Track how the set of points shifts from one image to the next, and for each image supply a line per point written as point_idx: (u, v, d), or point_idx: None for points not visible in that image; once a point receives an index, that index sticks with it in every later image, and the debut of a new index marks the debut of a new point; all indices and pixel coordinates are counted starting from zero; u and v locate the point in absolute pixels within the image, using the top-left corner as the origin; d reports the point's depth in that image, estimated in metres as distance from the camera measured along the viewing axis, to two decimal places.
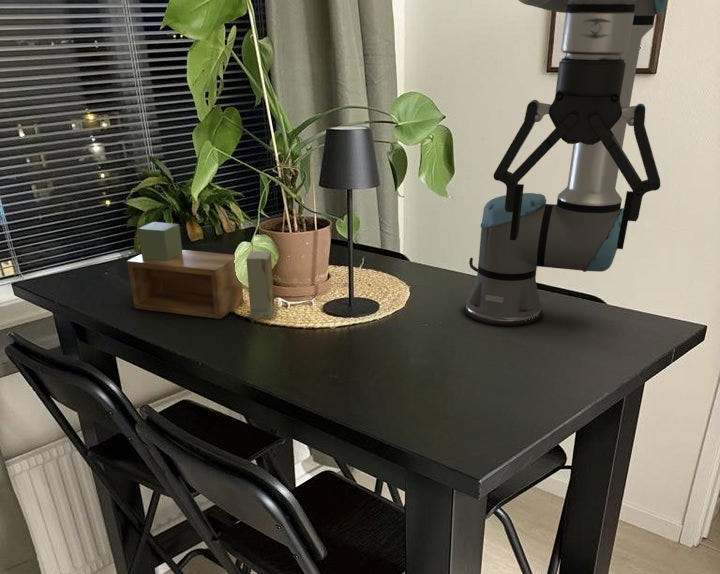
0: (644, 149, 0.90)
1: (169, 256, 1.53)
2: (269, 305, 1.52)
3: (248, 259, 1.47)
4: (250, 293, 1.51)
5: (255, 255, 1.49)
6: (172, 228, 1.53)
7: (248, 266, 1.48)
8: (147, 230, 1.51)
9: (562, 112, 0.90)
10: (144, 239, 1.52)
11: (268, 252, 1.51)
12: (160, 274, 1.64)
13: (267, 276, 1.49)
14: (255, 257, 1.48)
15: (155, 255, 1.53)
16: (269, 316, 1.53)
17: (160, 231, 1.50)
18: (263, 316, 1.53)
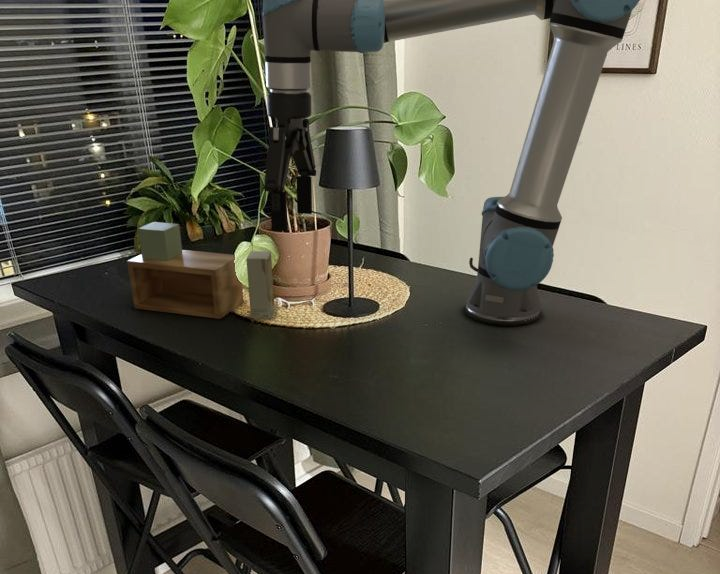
0: None
1: (169, 256, 1.53)
2: (269, 305, 1.52)
3: (248, 259, 1.47)
4: (250, 293, 1.51)
5: (255, 255, 1.49)
6: (172, 228, 1.53)
7: (248, 266, 1.48)
8: (147, 230, 1.51)
9: None
10: (144, 239, 1.52)
11: (268, 252, 1.51)
12: (160, 274, 1.64)
13: (267, 276, 1.49)
14: (255, 257, 1.48)
15: (155, 255, 1.53)
16: (269, 316, 1.53)
17: (160, 231, 1.50)
18: (263, 316, 1.53)
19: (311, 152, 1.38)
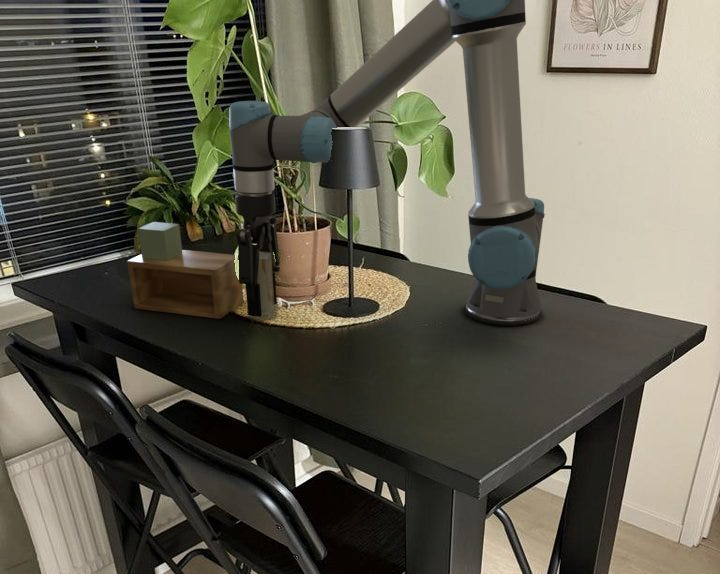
0: None
1: (169, 256, 1.53)
2: (269, 305, 1.52)
3: None
4: None
5: None
6: (172, 228, 1.53)
7: None
8: (147, 230, 1.51)
9: None
10: (144, 239, 1.52)
11: (268, 252, 1.51)
12: (160, 274, 1.64)
13: (267, 276, 1.49)
14: None
15: (155, 255, 1.53)
16: (269, 316, 1.53)
17: (160, 231, 1.50)
18: (263, 316, 1.53)
19: (276, 248, 1.54)
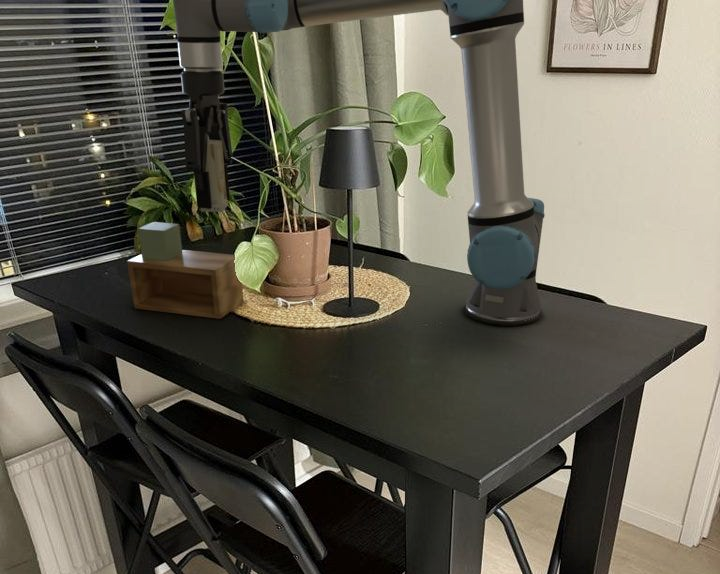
0: None
1: (169, 256, 1.53)
2: (220, 197, 1.43)
3: None
4: None
5: None
6: (172, 228, 1.53)
7: None
8: (147, 230, 1.51)
9: None
10: (144, 239, 1.52)
11: (218, 140, 1.43)
12: (160, 274, 1.64)
13: (216, 163, 1.40)
14: None
15: (155, 255, 1.53)
16: (220, 209, 1.45)
17: (160, 231, 1.50)
18: (214, 209, 1.44)
19: (228, 138, 1.46)
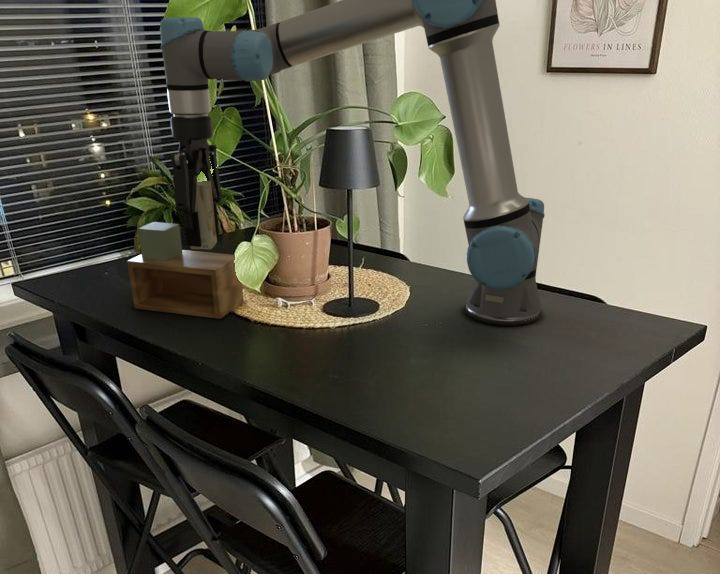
0: None
1: (169, 256, 1.53)
2: (209, 235, 1.48)
3: None
4: None
5: None
6: (172, 228, 1.53)
7: None
8: (147, 230, 1.51)
9: None
10: (144, 239, 1.52)
11: (207, 180, 1.48)
12: (160, 274, 1.64)
13: (205, 204, 1.45)
14: None
15: (155, 255, 1.53)
16: (209, 247, 1.49)
17: (160, 231, 1.50)
18: (203, 247, 1.49)
19: (217, 178, 1.50)
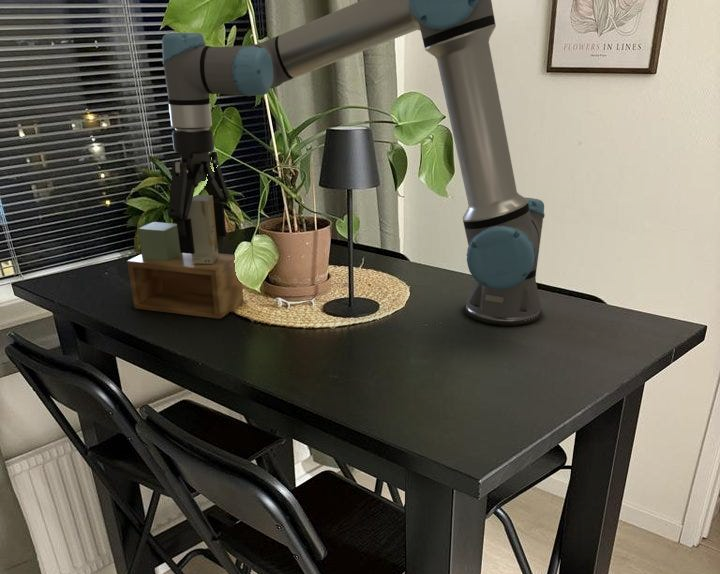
0: None
1: (169, 256, 1.53)
2: (210, 250, 1.50)
3: None
4: None
5: (195, 198, 1.47)
6: (172, 228, 1.53)
7: None
8: (147, 230, 1.51)
9: None
10: (144, 239, 1.52)
11: (209, 196, 1.49)
12: (160, 274, 1.64)
13: (207, 219, 1.47)
14: (195, 199, 1.46)
15: (155, 255, 1.53)
16: (211, 261, 1.51)
17: (160, 231, 1.50)
18: (205, 261, 1.51)
19: (222, 181, 1.52)
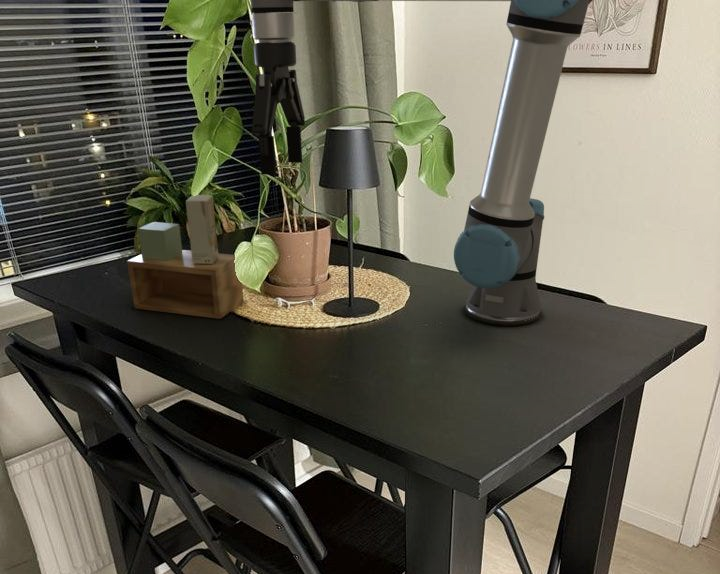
0: None
1: (169, 256, 1.53)
2: (210, 250, 1.50)
3: (187, 201, 1.45)
4: (191, 237, 1.48)
5: (195, 198, 1.47)
6: (172, 228, 1.53)
7: (188, 209, 1.46)
8: (147, 230, 1.51)
9: None
10: (144, 239, 1.52)
11: (209, 196, 1.49)
12: (160, 274, 1.64)
13: (207, 219, 1.47)
14: (195, 199, 1.46)
15: (155, 255, 1.53)
16: (211, 261, 1.51)
17: (160, 231, 1.50)
18: (205, 261, 1.51)
19: (299, 103, 1.47)
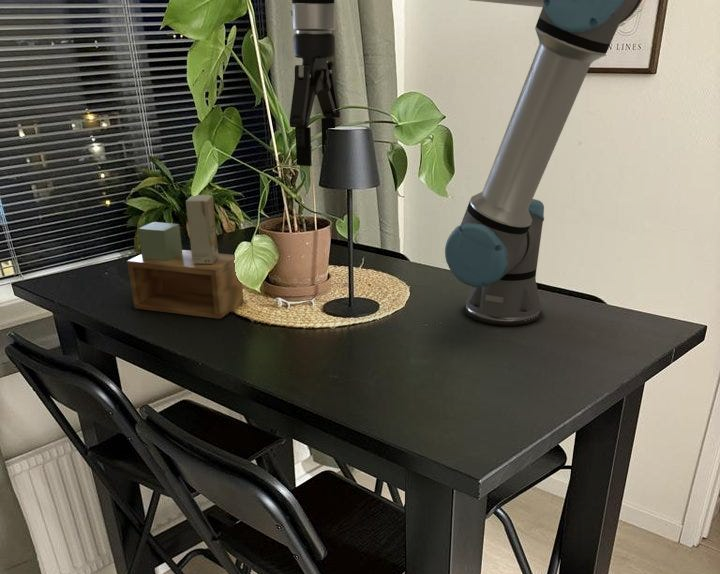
0: None
1: (169, 256, 1.53)
2: (210, 250, 1.50)
3: (187, 201, 1.45)
4: (191, 237, 1.48)
5: (195, 198, 1.47)
6: (172, 228, 1.53)
7: (188, 209, 1.46)
8: (147, 230, 1.51)
9: None
10: (144, 239, 1.52)
11: (209, 196, 1.49)
12: (160, 274, 1.64)
13: (207, 219, 1.47)
14: (195, 199, 1.46)
15: (155, 255, 1.53)
16: (211, 261, 1.51)
17: (160, 231, 1.50)
18: (205, 261, 1.51)
19: (335, 94, 1.47)
